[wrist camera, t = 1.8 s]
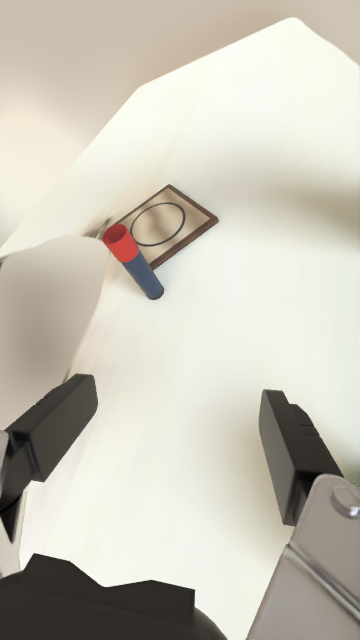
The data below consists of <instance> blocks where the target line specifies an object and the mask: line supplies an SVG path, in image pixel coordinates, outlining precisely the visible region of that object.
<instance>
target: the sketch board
mask: <svg viewBox="0 0 360 640" xmlns="http://www.w3.org/2000/svg"><path fill="white" fill-rule="evenodd" d="M218 222H219V221H218V218H217V217H216V216H214V215H213V214H212V213H210V212H209V211H207V210H206V209H204V208H203V207H202V206H200V205H199V204H197V203H196V202H194V201H193V200H192V199H190V198H189V197H187V196H186V195H184V194H183V193H182V192H180V191H179V190H177V189H176V188H174V187H173V186H171V185H170V184H169V185H167V186H166V187H164V188H163V189H162V190H160V191H159V192H158V193H156V194H155V195H153V196H152V197H151V198H149V199H148V200H146V201H145V202H144V203H142V204H141V205H140V206H138V207H137V208H135V209H134V210H133V211H131V212H130V213H129V214H127V215H126V216H124V217H123V218H122V219H120V220H119V221H118V222H116V223H115V224H113V225H116V224H123V225H125V226H126V227H127V229H128V230H129V232H130V234H131V235H132V237H133V238H134V240H135V242H136V243H137V245H138V247H139V250H140V251H141V253H142V255H143V256H144V258H145V259H146V261H147V263H148V264H149V266H150V267H151V269H152V271H153V270H154V269H156V268H157V267H158V266H160V265H161V264H162V263H164V262H165V261H166V260H168V259H169V258H170V257H172V256H173V255H174V254H176V253H177V252H179V251H180V250H181V249H183V248H184V247H185V246H187V245H188V244H189V243H191V242H192V241H193V240H195V239H196V238H197V237H199V236H200V235H201V234H203V233H204V232H205V231H207V230H208V229H209V228H211V227H212V226H214V225H215V224H216V223H218ZM113 225H112V226H113ZM109 228H110V227H109Z"/></svg>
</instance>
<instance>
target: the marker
mask: <svg viewBox="0 0 360 640" xmlns="http://www.w3.org/2000/svg"><path fill="white" fill-rule="evenodd" d="M103 242H104V243H105V245H106V246H107V247H108V248H109V250H110V251H111V252H112V253H113V255H114V256H115V257H116V258H117V260H118V261H120V262H121V263H122V265H123V266H124V267H125V268H126V270H127V271H128V272H129V273H130V275H131V276H132V277H133V278H134V280H135V281H136V282H137V284H138V285H139V286H140V287H141V289H142V290H143V291H144V292H145V294H146V295H147V297H148V298H149V299H151V300H156V299H159V298H160V297H161V296H162V295H163V293H164V288H163V286H162V285H161V283H160V282H159V280H158V279H157V277H156V275H155V274H154V272H153V271H152V269H151V267H150V266H149V264H148V263H147V261H146V259H145V258H144V256H143V255H142V253H141V251H140V250H139V247H138V245H137V243H136V242H135V240H134V238H133V237H132V235H131V234H130V232H129V230H128V229H127V227H126V226H125V225H123V224H116V225H113V226H111V227H110V228H108V229H107V230H106V232H105V233H104V235H103Z"/></svg>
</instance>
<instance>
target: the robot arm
mask: <svg viewBox="0 0 360 640" xmlns="http://www.w3.org/2000/svg"><path fill="white" fill-rule="evenodd" d="M97 406H98V399H97V392H96V386H95V379H94V377H93V375H87V374H75V375H74V376H72V377H71V378H70V379H69V380H68V381H67V382H66V383H64V384H62V385H60V386H58V387H56V388H54V389H52V390H51V391H50V392H49V393H48V394H46V395H45V396H44V398H43V399H41V400H40V401H38V402H37V403H36V405H33V406H32V407H31V408H30V409H29V410H28V411H26V412H25V413H24V414H23V415H22V416H20V417H19V418H18V419H17V420H16V421H15V422H13V423H12V424H11V425H10V426H9V427H8V428H6V429H5V430H4V431H0V640H227V638H226V637H225V635H224V634H223V633H222V632H221V630H220V629H219V628H218V627H217V626H216V624H215V623H214V622H213V621H212V620H211V619H209V618H208V617H207V616H206V615H205V614H204V613H203V612H201V611H200V610H198V609H197V608H196V607H195V590H194V589H189V588H185V587H181V586H176V585H172V584H167V583H163V582H159V581H154V580H148V581H142V582H136V583H130V584H124V585H118V586H112V587H103V586H101V585H99V584H98V583H97V582H96V581H94V580H93V579H92V578H91V577H89V576H88V575H87V574H85V573H84V572H83V571H82V570H80V569H79V568H78V567H77V566H75V565H74V564H73V563H71V562H70V561H66V560H62V559H58V558H53V557H49V556H44V555H40V554H36V553H34V554H33V555H32V557H31V559H30V560H29V562H28V564H27V565H26V567H25V569H24V570H22V571H20V563H19V547H20V540H21V533H22V526H23V519H24V512H25V505H26V498H27V489H26V486H27V485H28V484H29V483H30V481H31V480H33V481H39V482H45V481H46V479H47V478H48V476H49V475H50V474H51V472H52V471H53V470H54V468H55V467H56V466H57V464H58V463H59V462H60V460H61V459H62V458H63V456H64V455H65V454H66V452H67V451H68V449H69V448H70V447H71V445H72V444H73V443H74V441H75V440H76V439H77V437H78V436H79V435H80V433H81V432H82V431H83V429H84V428H85V426H86V425H87V424H88V422H89V421H90V420H91V418H92V417H93V416H94V414H95V412H96V410H97ZM259 431H260V436H261V440H262V443H263V447H264V451H265V455H266V459H267V463H268V467H269V471H270V475H271V479H272V482H273V486H274V490H275V494H276V498H277V502H278V506H279V510H280V514H281V518H282V522H283V524H284V525H290V526H295V530H294V532H293V535H292V537H291V540H290V542H289V544H286V546H285V548H284V550H283V552H282V554H281V556H280V559H279V561H278V564H277V566H276V568H275V571H274V573H273V576H272V578H271V580H270V583H269V585H268V588H267V590H266V592H265V595H264V597H263V600H262V602H261V604H260V607H259V609H258V612H257V614H256V616H255V619H254V621H253V624H252V626H251V628H250V631H249V633H248V636H247V638H246V640H360V488H359V487H357V486H356V485H355V484H353V483H352V482H350V481H348V480H346V479H345V478H344V476H343V475H342V473H341V471H340V469H339V468H338V466H337V464H336V462H335V461H334V459H333V457H332V456H331V454H330V452H329V450H328V449H327V447H326V445H325V444H324V442H323V440H322V438H321V437H320V436H319V433H318V432H317V430H316V428H315V427H314V425H313V423H312V421H311V419H310V418H309V416H308V414H307V413H306V412H304V411H303V410H302V409H301V408H300V407H299V406H298V405H297V404H289V403H288V401H287V399H286V397H285V395H284V393H283V391H278V390H266V389H264V390H263V392H262V398H261V406H260V413H259Z"/></svg>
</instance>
